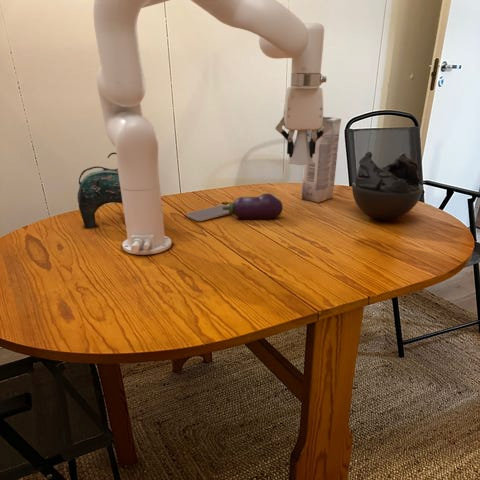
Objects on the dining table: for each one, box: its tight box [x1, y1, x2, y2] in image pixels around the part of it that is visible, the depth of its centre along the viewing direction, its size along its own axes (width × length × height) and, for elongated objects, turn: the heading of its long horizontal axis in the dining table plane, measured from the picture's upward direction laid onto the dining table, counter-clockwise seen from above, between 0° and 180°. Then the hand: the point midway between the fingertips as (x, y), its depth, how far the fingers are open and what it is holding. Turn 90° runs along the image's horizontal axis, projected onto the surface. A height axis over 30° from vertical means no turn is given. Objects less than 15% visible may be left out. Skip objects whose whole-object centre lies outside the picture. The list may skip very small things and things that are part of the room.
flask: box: [287, 130, 313, 166], centre depth 120 cm, size 7×7×10 cm
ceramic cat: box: [77, 151, 123, 229], centre depth 127 cm, size 20×6×20 cm, turn 108°
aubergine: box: [223, 192, 284, 220], centre depth 134 cm, size 7×18×7 cm, turn 91°
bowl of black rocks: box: [351, 151, 424, 221], centre depth 130 cm, size 20×20×19 cm
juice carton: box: [301, 116, 342, 203], centre depth 148 cm, size 9×10×27 cm
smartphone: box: [186, 204, 230, 222], centre depth 139 cm, size 7×1×15 cm
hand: (300, 156), depth 122 cm, fingers closed on flask, 4 cm apart
